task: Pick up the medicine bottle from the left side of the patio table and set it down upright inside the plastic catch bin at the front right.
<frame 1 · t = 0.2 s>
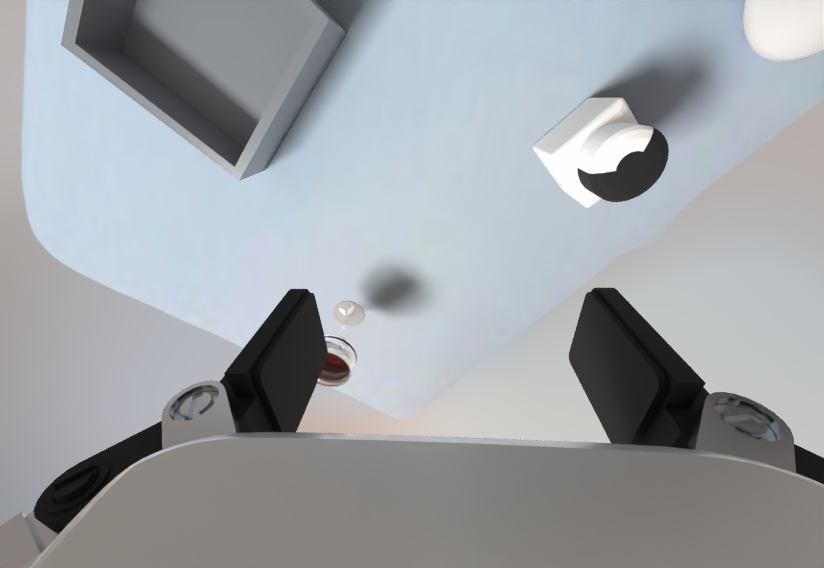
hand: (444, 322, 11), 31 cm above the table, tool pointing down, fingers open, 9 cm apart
wineglass: (349, 313, 50), on the table
catch bin: (228, 43, 32), on the table
medicine bottle: (574, 147, 35), on the table
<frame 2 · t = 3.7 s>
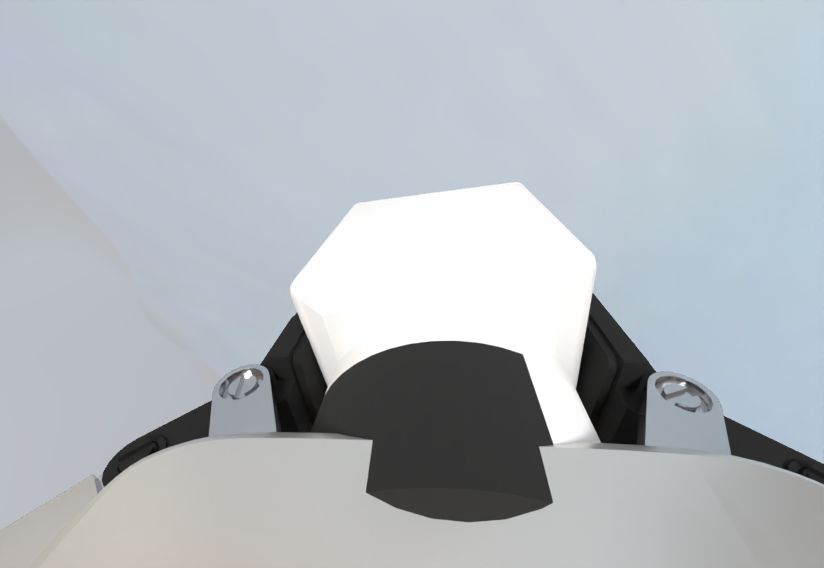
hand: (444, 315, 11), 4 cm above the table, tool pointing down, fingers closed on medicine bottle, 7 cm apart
medicine bottle: (442, 264, 15), on the table, touching gripper
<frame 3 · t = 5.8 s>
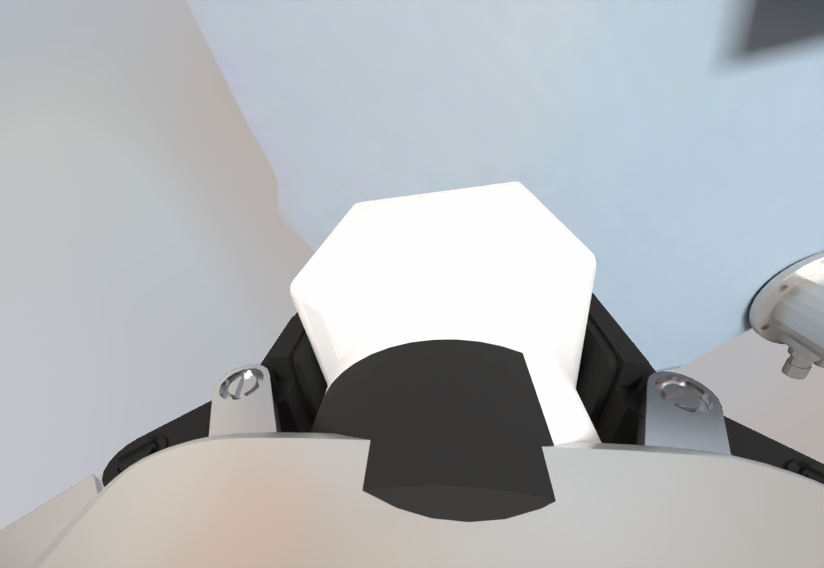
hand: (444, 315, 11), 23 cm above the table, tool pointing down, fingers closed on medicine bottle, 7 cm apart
medicine bottle: (442, 263, 15), point 19 cm above the table, touching gripper
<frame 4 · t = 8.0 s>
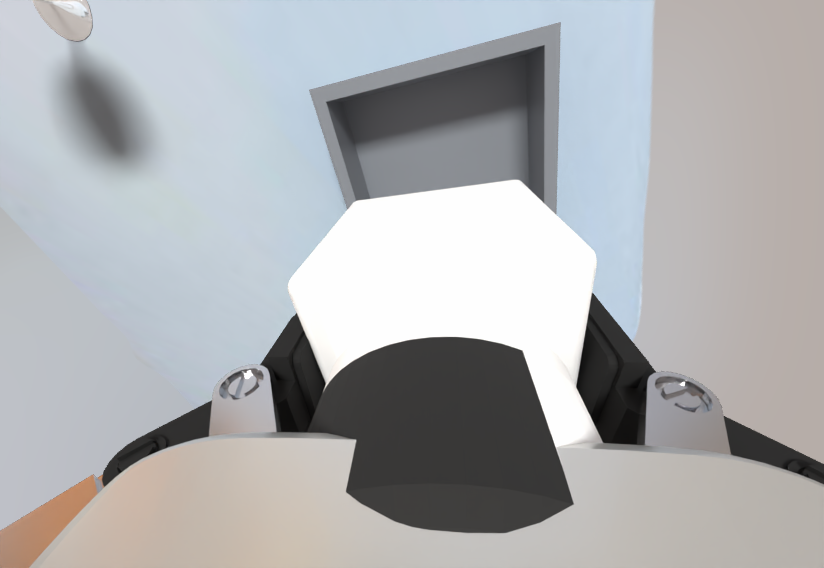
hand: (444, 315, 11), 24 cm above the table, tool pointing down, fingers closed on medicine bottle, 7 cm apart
wineglass: (63, 5, 27), on the table
catch bin: (444, 171, 31), on the table
medicine bottle: (442, 262, 15), point 20 cm above the table, touching gripper
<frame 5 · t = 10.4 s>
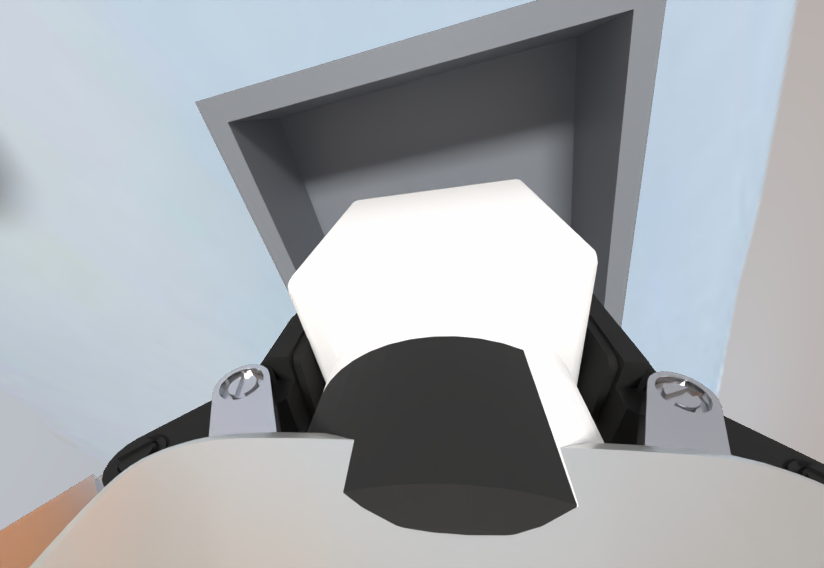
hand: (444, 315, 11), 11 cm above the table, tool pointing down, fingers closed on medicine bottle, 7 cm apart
catch bin: (441, 218, 21), on the table
medicine bottle: (442, 262, 15), point 7 cm above the table, touching gripper
when the fingers open (7 cm above the table, at t = 12.3 s): medicine bottle drops 2 cm, resting on catch bin.
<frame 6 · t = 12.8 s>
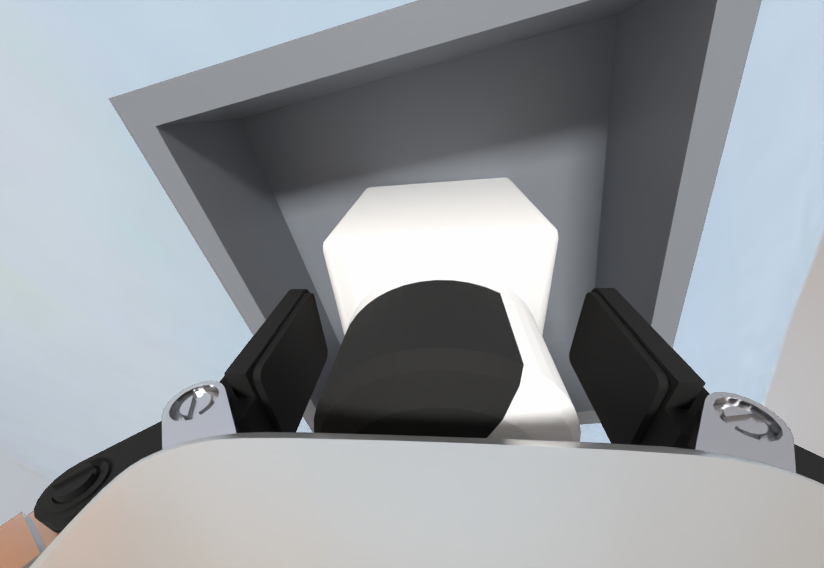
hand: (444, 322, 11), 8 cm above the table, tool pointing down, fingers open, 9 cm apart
catch bin: (441, 238, 18), on the table
medicine bottle: (438, 246, 17), point 1 cm above the table, touching catch bin
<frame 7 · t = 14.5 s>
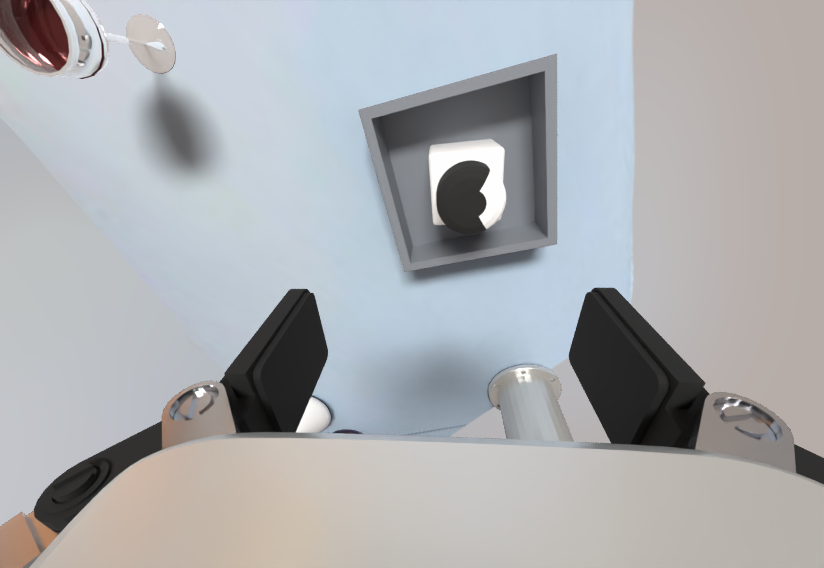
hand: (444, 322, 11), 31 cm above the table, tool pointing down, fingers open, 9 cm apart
wineglass: (152, 45, 33), on the table
catch bin: (462, 171, 37), on the table
flower in vase: (304, 403, 63), on the table
medicine bottle: (461, 173, 37), point 1 cm above the table, touching catch bin
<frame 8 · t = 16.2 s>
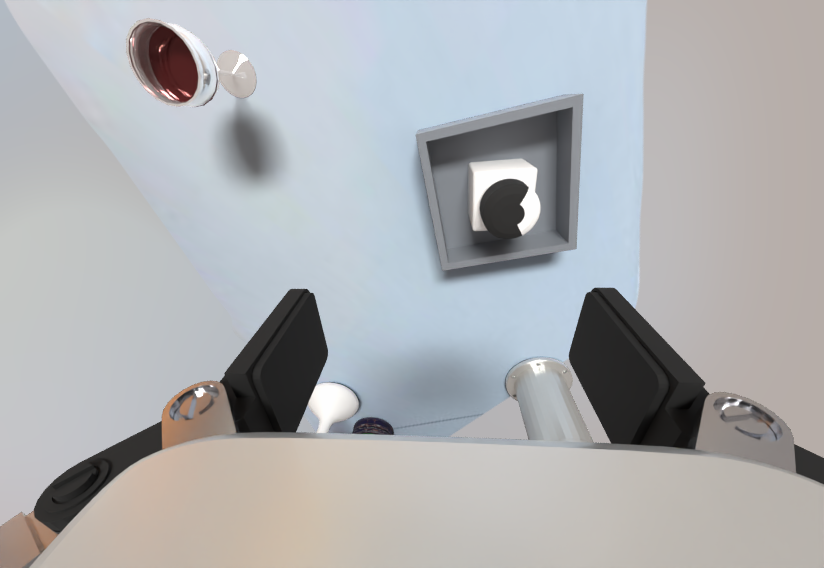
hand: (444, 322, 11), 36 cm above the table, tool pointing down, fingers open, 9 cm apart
wineglass: (237, 74, 39), on the table
catch bin: (494, 184, 43), on the table
flower in vase: (334, 392, 68), on the table
medicine bottle: (493, 187, 43), point 1 cm above the table, touching catch bin
dark blue cylinder: (373, 429, 74), on the table
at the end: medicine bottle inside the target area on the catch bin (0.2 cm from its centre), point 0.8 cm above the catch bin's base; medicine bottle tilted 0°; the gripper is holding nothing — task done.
